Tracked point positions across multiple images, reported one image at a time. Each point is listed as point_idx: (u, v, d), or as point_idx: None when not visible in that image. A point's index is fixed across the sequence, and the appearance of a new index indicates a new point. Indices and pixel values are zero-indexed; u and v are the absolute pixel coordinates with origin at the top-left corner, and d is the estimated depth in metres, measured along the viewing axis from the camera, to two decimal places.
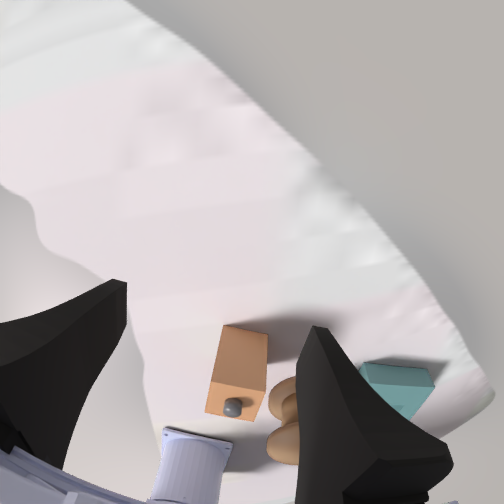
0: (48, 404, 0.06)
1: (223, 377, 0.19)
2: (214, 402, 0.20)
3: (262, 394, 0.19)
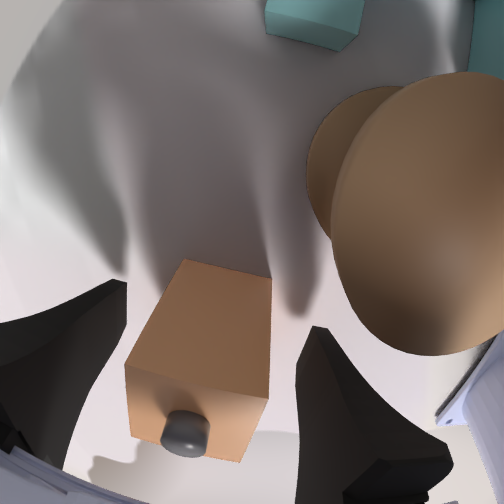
0: (48, 404, 0.06)
1: None
2: None
3: (136, 371, 0.07)
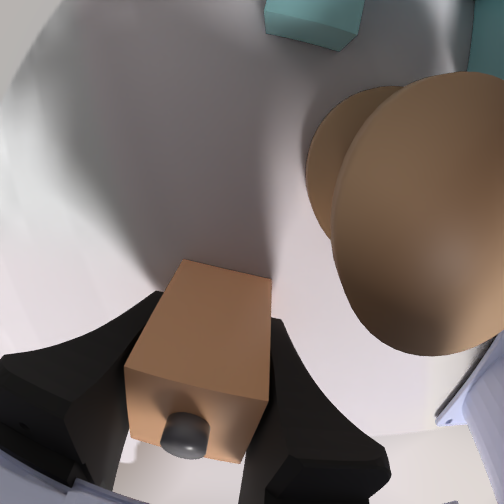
0: (107, 429, 0.06)
1: None
2: None
3: (135, 373, 0.07)
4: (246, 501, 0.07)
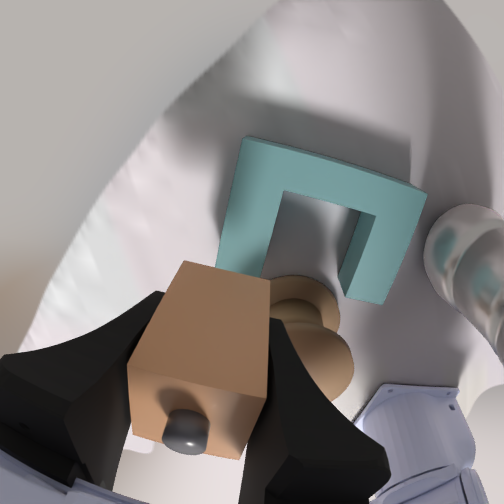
0: (107, 429, 0.06)
1: None
2: None
3: (138, 371, 0.07)
4: (246, 501, 0.07)
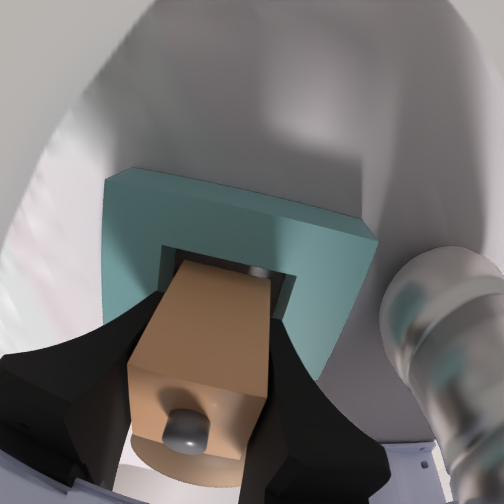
0: (107, 429, 0.06)
1: None
2: None
3: (139, 370, 0.07)
4: (246, 501, 0.07)
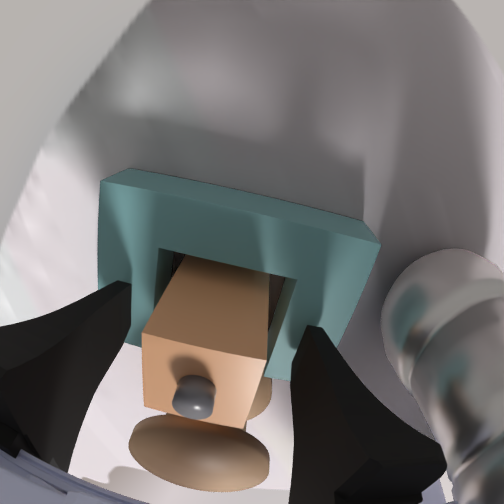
0: (54, 407, 0.06)
1: None
2: None
3: (152, 338, 0.08)
4: None
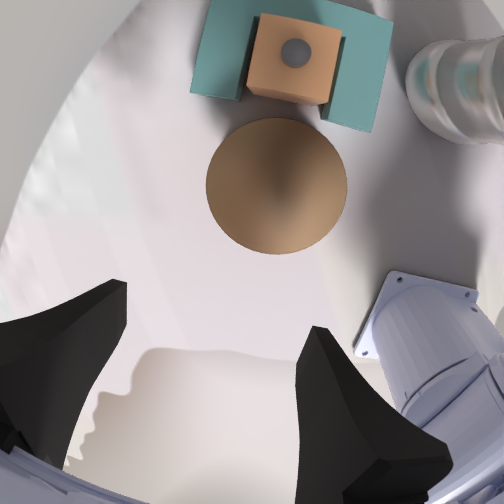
0: (48, 404, 0.06)
1: None
2: (297, 83, 0.12)
3: (268, 16, 0.11)
4: None
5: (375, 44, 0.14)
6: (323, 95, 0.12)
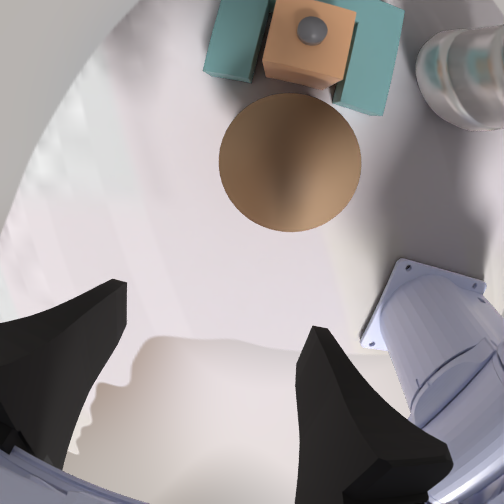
0: (48, 404, 0.06)
1: None
2: (313, 60, 0.12)
3: None
4: None
5: (387, 30, 0.13)
6: (338, 72, 0.12)
